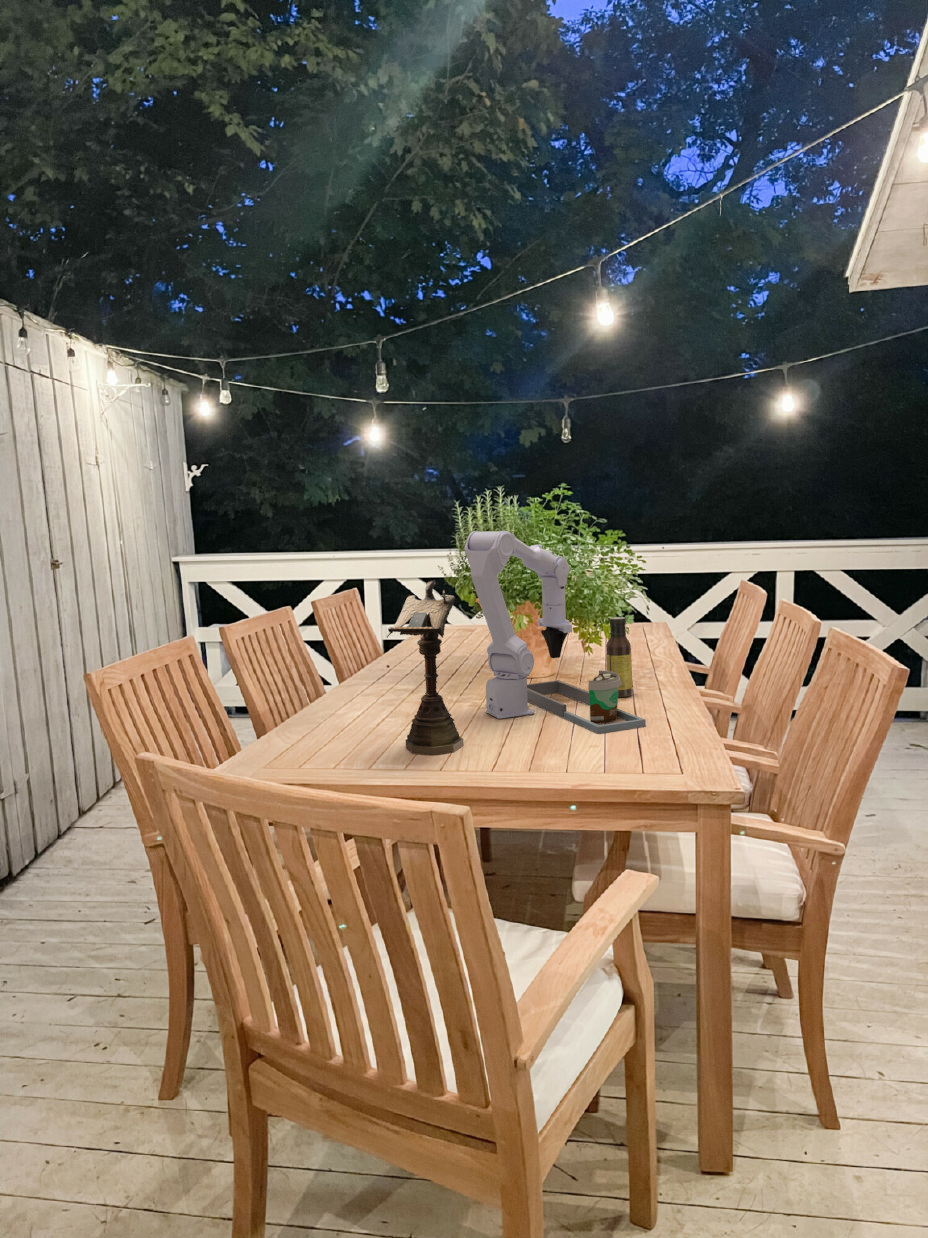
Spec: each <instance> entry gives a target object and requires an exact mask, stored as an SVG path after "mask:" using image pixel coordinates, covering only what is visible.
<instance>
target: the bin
mask: <svg viewBox="0 0 928 1238" xmlns="http://www.w3.org/2000/svg"><path fill="white" fill-rule="evenodd" d="M550 694H560V695H562V696H564V697H568V698H569V699H572V700H575V701H577V702H579V703H581V704H584V705H587V706H589V707H590V702H589V690H586V689H583V688H580V687H578V686H575V685H573V684H569V683H568V682H564V681H562V680H559V679H558V680H556V679H555V680H551V681H549V680H548V681H541V682H533V683H527V698H528V703H530V704H532V705H534V706H536V707H539V708H540V709H542V710H544V711H547V712H549V713H552V714H553V715H555V716H558V717H561V718H563V719H564V712H567V704H566V703H564V702H561V701H559V700H557V699H554V698H552V697H549V696H547V695H550Z"/></svg>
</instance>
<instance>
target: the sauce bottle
mask: <svg viewBox="0 0 928 1238" xmlns="http://www.w3.org/2000/svg"><path fill="white" fill-rule="evenodd" d="M626 624H627V618H626V617H624V616H617V617H616V616H613V617H610V618H609V625H610V633H609V634H610V637H609V639H608V640H607V642H606V645H605V647H606V655H605V657H606V659H605V660H606V671H611V672H615V673H617V674H618V675H619V677H620V680H621V686H619V687H618V698H625V697H630V696H631V695H632V694H633V687H634V686H633V665H632V664H633V663H632V648H631V646H632V645H631V642H630V640H629V639H628V638H627V635H626V634H627V632H626Z"/></svg>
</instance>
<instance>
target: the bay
mask: <svg viewBox="0 0 928 1238" xmlns="http://www.w3.org/2000/svg"><path fill="white" fill-rule="evenodd" d="M566 711H567V710H566ZM617 718H619V719H621V720H624V721H618V722H613V723H612V722H611V723H607V724H606V723H604V724H595V723H593V722H591V721H590V720H588V719H586V718H584V717H581V716H579V715H576V714H574V713H572V712H569V711H567V712H564V718H563V719H565V720H566V721H569V722H571V723H573V724H576V725H578V726H580V727H581V728H584V729H587V730H589V731H591V732H592V733H595V734H597V735H599V734H600V735H601V734H607V733H611V732H612V733H613V732H619V731H625V730H626V731H627V730H632V729H636V728H637V729H638V728H644V727H647V726H646V723H647V721H646V719H645V718H642V717H640V716H639V715H638V716H637V715H635V714H632V713H630V712H626V711H625V710H622V709H620V708H617Z"/></svg>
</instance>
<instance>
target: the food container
mask: <svg viewBox="0 0 928 1238" xmlns="http://www.w3.org/2000/svg"><path fill="white" fill-rule="evenodd" d="M587 686H588V688H587V691H589V702H590V706H589V721H591V722H593V723H595V724H597V725H600V724H606V723H607V724H610V723H612V722H613V723H614V721H616V720H617V718H618V717H617V709H618V702H619V697H618V687H619V686H621V680H620V677H619V675H618V674H617V673H615V672H611V671H607V670H601V669H599V670H598V675H597V676H594V678H593V679H592V680H588V685H587Z"/></svg>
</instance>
